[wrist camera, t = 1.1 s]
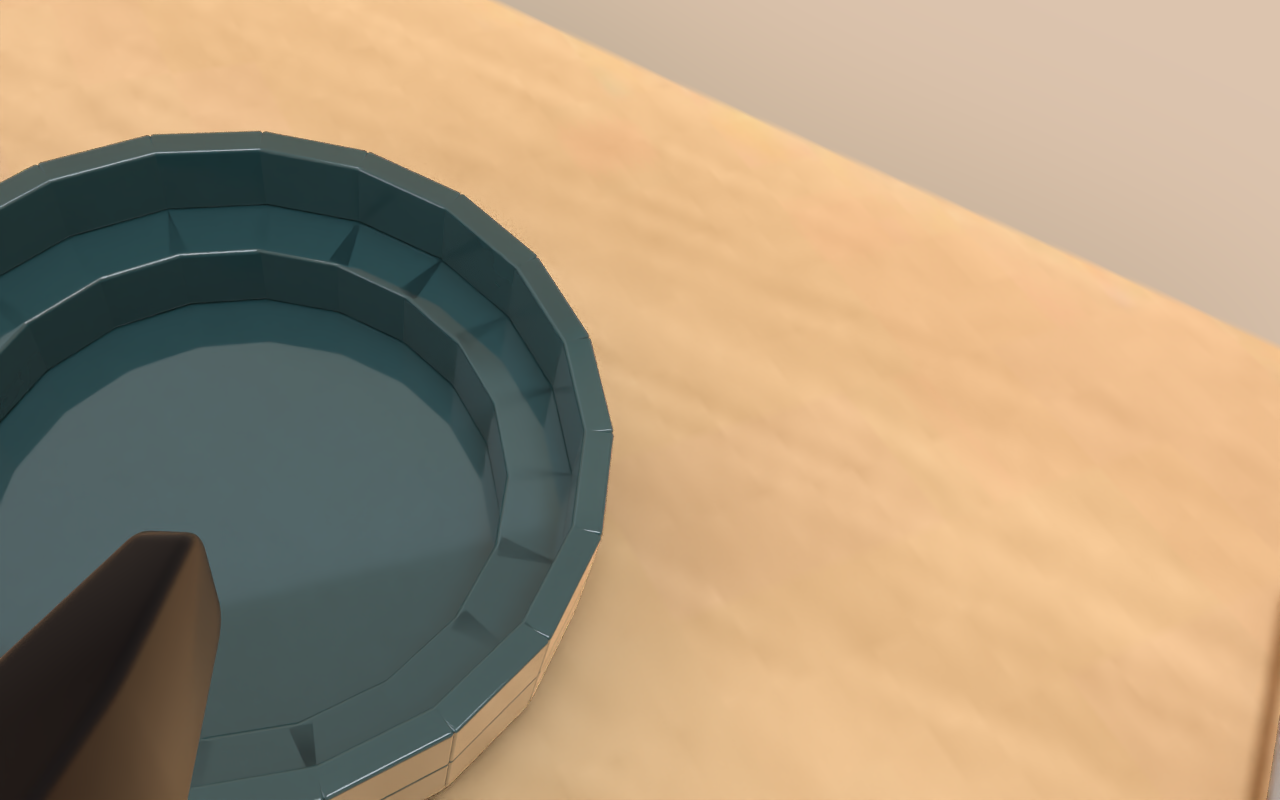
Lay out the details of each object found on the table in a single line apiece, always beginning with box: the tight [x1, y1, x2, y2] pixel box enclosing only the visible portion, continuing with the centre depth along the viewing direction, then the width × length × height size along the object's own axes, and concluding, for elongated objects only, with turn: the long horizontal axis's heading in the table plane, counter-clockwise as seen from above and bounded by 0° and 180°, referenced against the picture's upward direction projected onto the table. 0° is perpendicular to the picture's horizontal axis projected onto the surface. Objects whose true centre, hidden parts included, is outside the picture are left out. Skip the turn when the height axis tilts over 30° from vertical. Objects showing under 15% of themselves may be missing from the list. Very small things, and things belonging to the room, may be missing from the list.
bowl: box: [0, 131, 614, 800], centre depth 23 cm, size 14×14×4 cm
